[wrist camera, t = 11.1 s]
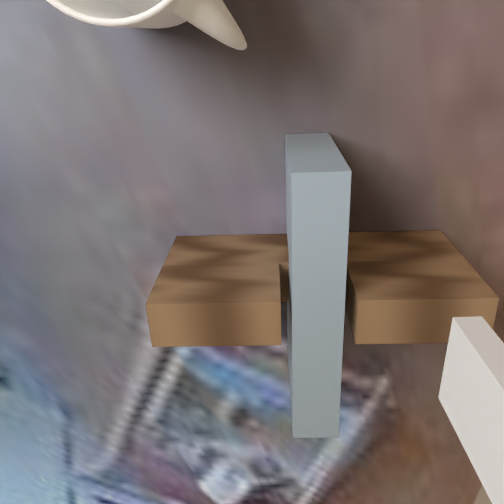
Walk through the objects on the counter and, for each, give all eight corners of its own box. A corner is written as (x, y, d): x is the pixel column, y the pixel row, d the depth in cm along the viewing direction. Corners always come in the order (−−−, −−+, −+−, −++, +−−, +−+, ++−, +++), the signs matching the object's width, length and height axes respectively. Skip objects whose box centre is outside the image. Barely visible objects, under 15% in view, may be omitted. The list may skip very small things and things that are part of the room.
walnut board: (180, 270, 37) (152, 346, 28) (176, 236, 36) (145, 304, 27) (435, 265, 36) (490, 342, 27) (440, 230, 35) (499, 298, 26)
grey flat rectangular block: (287, 346, 40) (292, 437, 31) (285, 134, 33) (291, 173, 24) (322, 346, 40) (338, 437, 31) (328, 132, 32) (351, 171, 23)
